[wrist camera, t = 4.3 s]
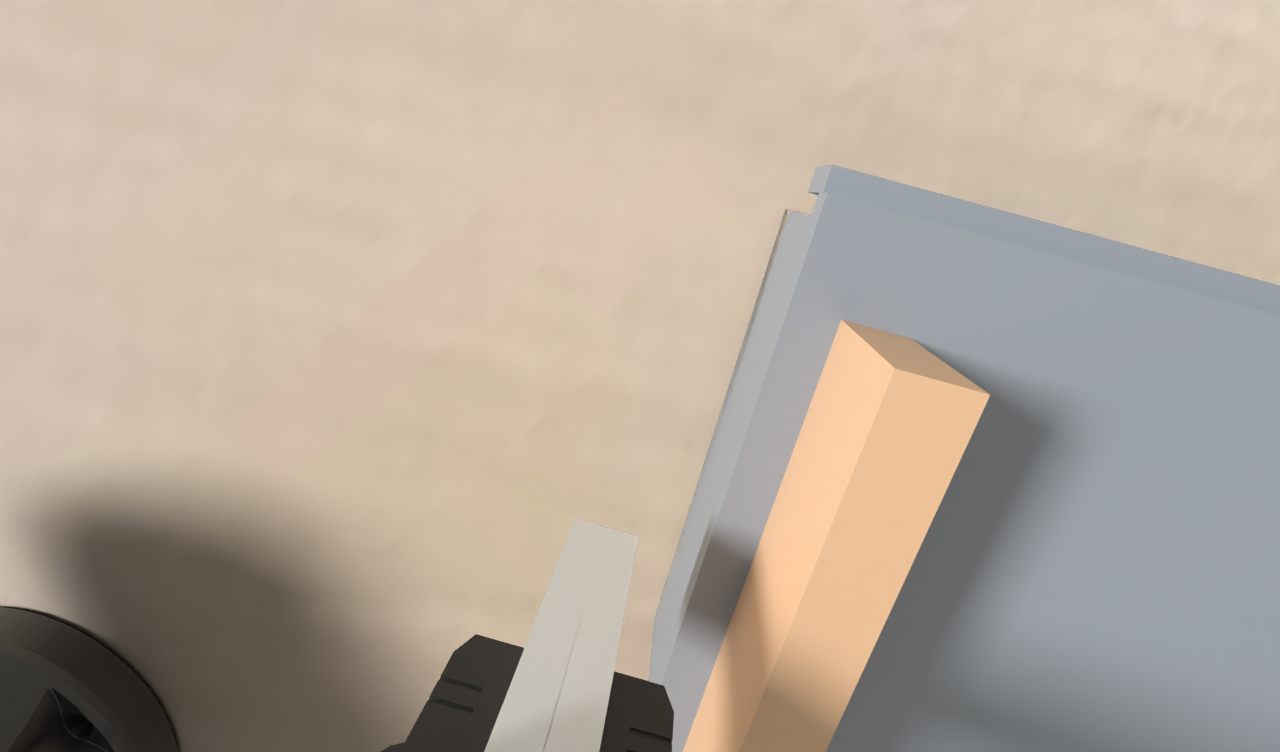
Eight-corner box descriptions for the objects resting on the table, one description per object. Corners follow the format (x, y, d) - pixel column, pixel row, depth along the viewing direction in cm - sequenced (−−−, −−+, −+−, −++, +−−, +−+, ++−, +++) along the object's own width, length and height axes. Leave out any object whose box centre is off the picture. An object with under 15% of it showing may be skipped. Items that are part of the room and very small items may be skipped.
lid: (619, 764, 21) (587, 998, 15) (815, 167, 15) (894, 153, 9) (1155, 916, 21) (1343, 1217, 15) (1570, 371, 15) (2175, 499, 9)
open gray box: (655, 616, 27) (638, 780, 20) (785, 209, 22) (831, 219, 14) (1050, 727, 27) (1187, 937, 20) (1281, 343, 22) (1594, 427, 14)
